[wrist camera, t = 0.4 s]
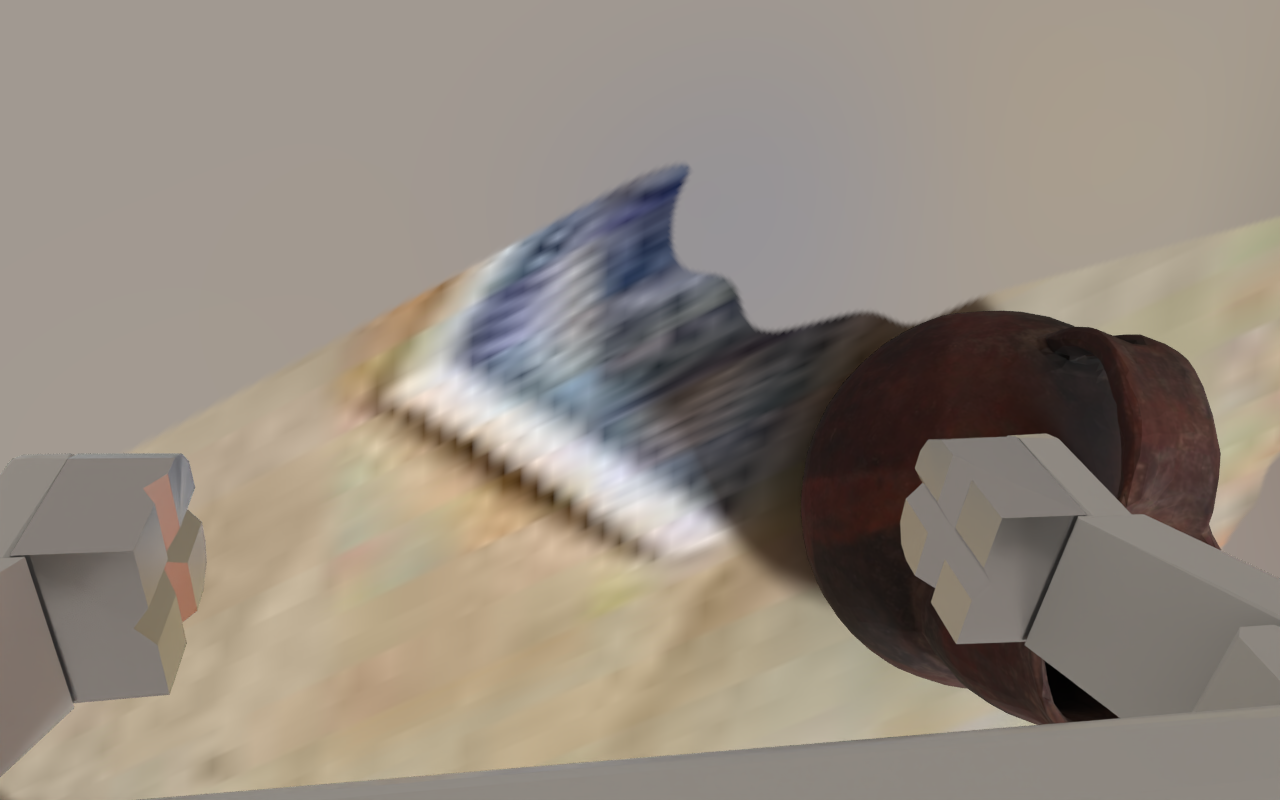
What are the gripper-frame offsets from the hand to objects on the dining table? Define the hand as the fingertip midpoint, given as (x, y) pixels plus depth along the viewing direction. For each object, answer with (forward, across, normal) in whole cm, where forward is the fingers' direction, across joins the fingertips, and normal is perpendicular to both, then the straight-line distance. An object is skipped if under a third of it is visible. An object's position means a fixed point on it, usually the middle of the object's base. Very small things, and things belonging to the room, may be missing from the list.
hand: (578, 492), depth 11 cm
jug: (+43, +32, -33) cm, 63 cm away
